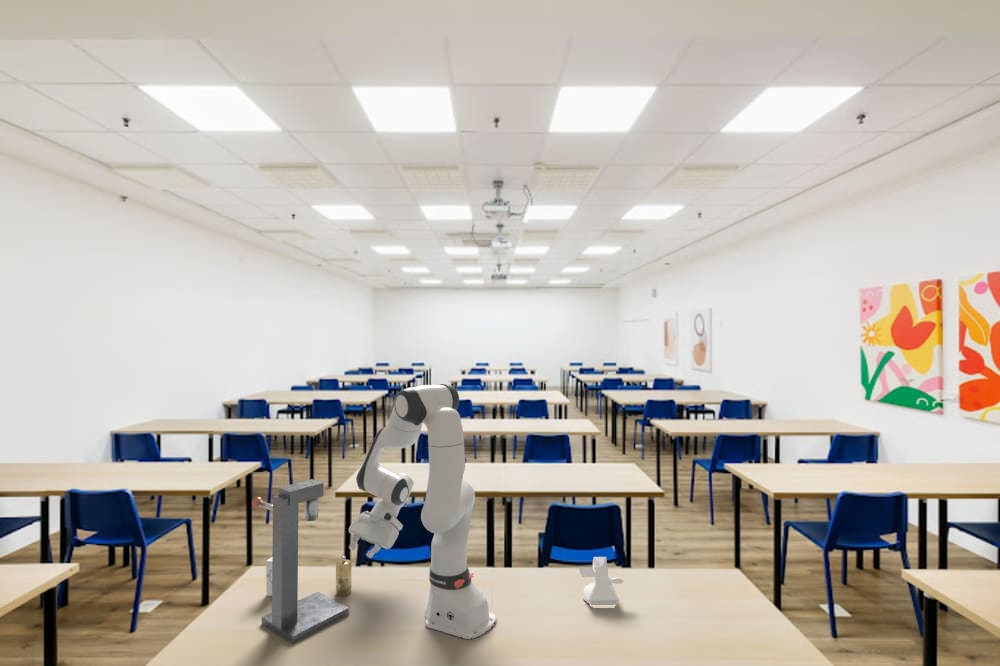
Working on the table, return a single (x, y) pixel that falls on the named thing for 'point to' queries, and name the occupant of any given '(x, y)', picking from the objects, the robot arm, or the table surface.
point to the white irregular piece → (600, 584)
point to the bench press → (295, 567)
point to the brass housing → (343, 577)
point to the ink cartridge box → (269, 576)
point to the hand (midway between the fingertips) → (359, 552)
